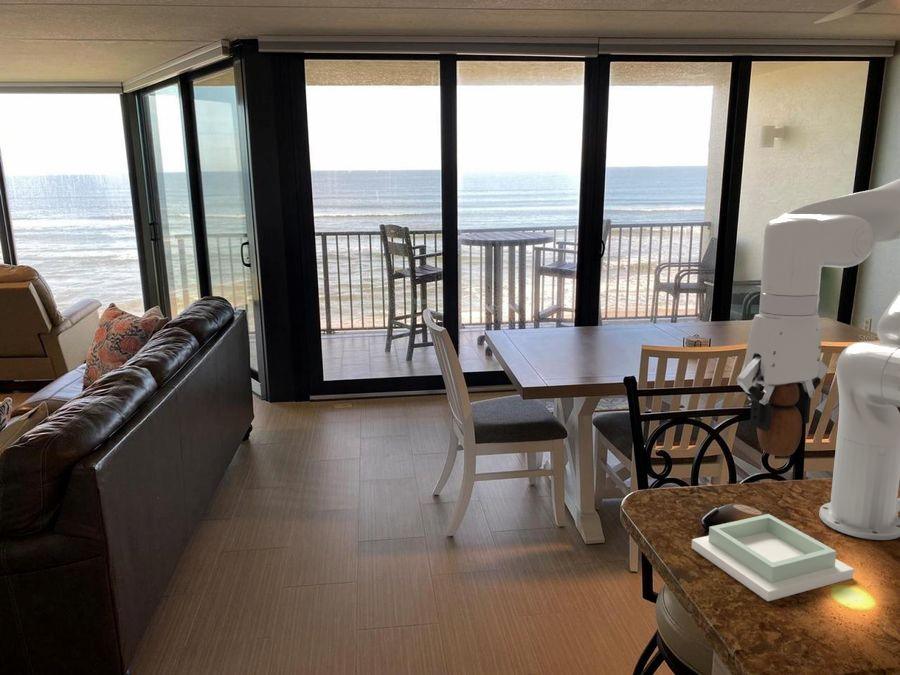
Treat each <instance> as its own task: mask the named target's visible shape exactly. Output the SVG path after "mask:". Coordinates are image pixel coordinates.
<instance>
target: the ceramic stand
mask: <svg viewBox="0 0 900 675" xmlns="http://www.w3.org/2000/svg"><path fill="white" fill-rule="evenodd" d="M708 529H709V530H708V535H706V536H700V537H696V538H691V549H692V550H694V551H695V552H697V553H698V554H700V556H702V557H704V558H705V559H707V560H708V561H709V562H711V563H712V564H713V565H715V566H716V567H718V568H719V569H721V570H722V571H724V572H725V573H727V574H728V575H729V576H730V577H732V578H733V579H735V580H736V581H738V582H739V583H740V584H742V585H744V586H745V587H746V588H748V589H749V590H750V591H752V592H754V593H755V594H756V595H758V596H759V597H760V598H762V599H763V600H765V601H767V602H770V601H771V602H772V601H775V600H779V599H782V598H785V597H789V596H793V595H796V594H800V593H803V592H806V591H807V592H808V591H811V590H816V589H818V588H822V587H825V586H829V585H833V584H836V583H840V582H841V583H842V582H845V581H847V580H848V581H849V580H851V579H854V575H855V574H854V572H855V568H854V567H852V566H849V565H848V564H846V563H845V562H842V561H840V560H839V559H837V558H836V557H837V550H835V549H833V548H831V547H830V546H828V545H826V544H825V543H822V542H820V541H819V540H817V539H815V538H814V537H812V536H810V535H808V534H806V533H805V532H803V531H800V530H799V529H797V528H796V527H793V526H792V525H789V524H788V523H786V522H784V521H782V520H781V519H778V518H777V517H775V516H774V515H771V514H770V513H767V514H766V513H765V514H762V515H758V516H757V515H756V516H753V517H748V518H744V519H739V520H735V521H729V522H726V523H721V524H717V525H712V526H709V527H708Z"/></svg>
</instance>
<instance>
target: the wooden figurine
mask: <svg viewBox="0 0 900 675" xmlns="http://www.w3.org/2000/svg"><path fill="white" fill-rule="evenodd" d="M798 400H799V387H798V385H797V383H789V384H785V385H778V386H775V387H774V389H773V392H772V394H771V396H770V398H769V401H768V404H771V417H770V428H769V430H766V431H764V430H761V429H759V428H757V427H756V434H757V438H758V439H757V440H758V443H759V446H760V448H761V449H762V450H763V451H764V452H765V453H767V454H768V455H771V456H776V457H789V456H791V455H793V454H794V453H795V452H796V450H797V449H798V447H799V445H800V442H801V439H802V434H803V423H802V418H801V414H800V412H799V410H798V408H797V407H795V406H794V405H795V404H796V403H797V401H798Z"/></svg>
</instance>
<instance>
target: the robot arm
mask: <svg viewBox="0 0 900 675" xmlns="http://www.w3.org/2000/svg"><path fill="white" fill-rule="evenodd" d="M899 239H900V178H898V179H895V180H893V181H890V182H889V183H886V184H884V185H881V186H879V187H876V188H873V189H868V190H865V191H864V190H863V191H859V192H854V193H851V194H846V195H842V196H837V197H834V198H833V197H832V198H828V199H825V200H823V199H822V200H819V201H815V202H812V203H808V204H805V205H802V206H798V207H796V208H794V209H792V210H790V211H787V212H785V213H783V214H781V215H780V216H779V217H778V218H774V219H771V220H769V221H768V222H767V224H766V225H765V229H764V238H763V249H762V262H761V263H762V266H761V277H760V278H761V282H760V294H759V295H760V296H759V311H758V313H757V314H754V317H753V319H752V321H751V326H750V329H749V334H748V339H747V345H746V350H745V357H744V358H745V360H744V369H743V370H742V371H741V372H740V373H739V375H738V376H737V377H736V382H737V383H738V385H739V387H741V388H742V390H743V392H744V393H745V395H746V396H747V399H748V400H749V401H751V403H750V418H749V425H751V426H752V427H754V428H756V429H757V428H759V429H761V430H764V431H766V430H769V428H770V417H771V404H768V401H769V398H770V396H771V394H772V392H773V389H774V387H775V386H778V385H785V384H789V383H797V385H798V387H799V400H798V401H797V403H796V404H795V405H794V406H795V407H797V408H798V410H799V412H800V414H801V418H802V425H803V424H804V425H806V424H809V422H810V417H811V416H810V415H811V414H810V413H811V405H812V404H811V402H812V398H814V397H815V394H816V389H817V388H818V387H819V386H820V385H821V383H822V382H821V380H822V379H823V378H824V377H825V375H826V374H827V373H828V371H829V368H828V366H827V365H826V364H825V363H824V362H823V360H821V353H822V352H821V351H822V334H821V332H822V331H821V321H820V315H819V314H818V312H819V304H820V303H821V297H820V289H821V288H820V287H821V279H822V277H821V276H822V275H821V274H822V268H823V267H826V268H841V269H844V268H845V269H846V268H850V267H851V268H852V267H854V266H857V265H859V264H861V263H863V262H864V261H866V259H867V258H868V257H869V256H870V255H871V253H872V252H873V250H874V247H875V244H879V243H885V242H886V243H887V242H892V241H896V240H899ZM876 335H877V338H878V339H879V341H880V342H879V341H859V342H855V343H851V344H849V345H848V346H847V347H845V348H844V349H843V350H842V351H841V353H840V355H839V356H838V359H837V360H836V361H837V362H836V383H837V389H838V390H837V391H838V402H839V404H838V405H839V407H838V420H837V421H838V422H837V423H838V424H837V432H836V443H835V455H834V462H833V471H832V472H833V474H832V475H833V476H832V483H831V492H830V502H827V503H824V504H823V505H821V506H820V508H819V512H818V513H819V514H818V515H819V518H820V520H821V521H822V522H823V523H824V524H825V525H826V526H828V527H829V528H831V529H833V530H834V531H837V532H839V533H842V534H844V535H845V534H846V535H848V536H850V537H851V536H852V537H855V538H860V539H864V540H872V541H874V540H875V541H890V540H895V539H898V538H900V517H899V512H900V497H898V496H899V486H900V411H899V409H898V408H900V290H899V291H898V292H897V294H896V295H895V297H894V298H893V299H892V301H891V302H890V304H889V305H888V306H887V307H886V309H885V310H884V312H883V314H882V315H881V317H880V319H879V321H878V324H877V328H876ZM762 387H763V389H762V392H761V388H762Z"/></svg>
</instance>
